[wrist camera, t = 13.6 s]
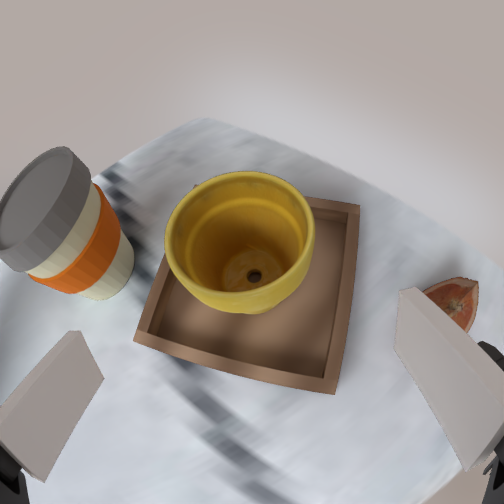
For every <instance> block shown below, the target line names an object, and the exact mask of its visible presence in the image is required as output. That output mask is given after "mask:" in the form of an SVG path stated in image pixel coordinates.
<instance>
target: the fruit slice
mask: <svg viewBox="0 0 504 504" xmlns="http://www.w3.org/2000/svg"><path fill="white" fill-rule="evenodd" d="M478 289H479V286H478V281H474V280H471V279H470V280H469V279H468V278H462V277H456V278H451V279H449V280H446V281H443V282H440V283H438V284H436V285H434V286H432V287H430V288H428V289H426V290H425V291H423V292H422V293H424V294H425V295H426V296H427V297H428V298H429V299H430V300H431V301H433V302H434V303H435V304H436V305H437V306H438V307H439V308H440V309H441V310H442V311H444V312H445V313H446V314H447V315H448V316H449V317H450V318H451V319H452V320H453V321H454V322H455V323H456V324H457V325H458V326H460V327H461V328H462V329H463V330H464V331H465V332H466V333H467V332H468V331H469V329H470V328H471V326H472V324H473V322H474V319H475V316H476V311H477V305H478V293H479V291H478Z"/></svg>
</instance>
